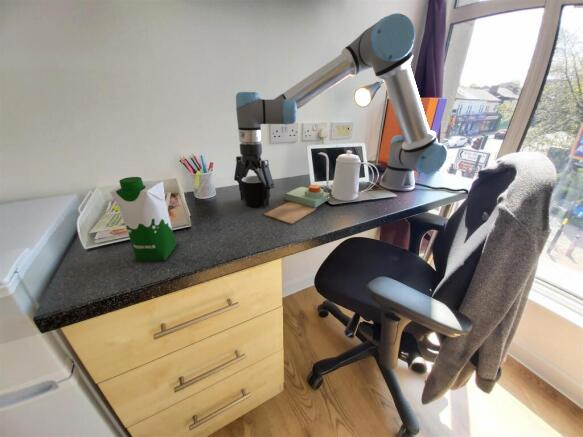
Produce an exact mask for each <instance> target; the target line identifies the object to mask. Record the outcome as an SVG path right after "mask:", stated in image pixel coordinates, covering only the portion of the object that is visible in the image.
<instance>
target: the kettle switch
mask: <svg viewBox="0 0 583 437" xmlns="http://www.w3.org/2000/svg"><path fill="white" fill-rule="evenodd" d="M308 188H309V192H312V193H317V192H320V189H321V185H319V184H309V185H308Z"/></svg>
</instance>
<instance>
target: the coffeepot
mask: <svg viewBox="0 0 583 437" xmlns="http://www.w3.org/2000/svg"><path fill="white" fill-rule="evenodd" d="M317 155H321V156H324V157H325V164H326V166H325V167H326V168H325V169H326V172H325V173H326V177H325V178H326V187H328V188H329V189H330V190H331V193H330V195H331V196H332V195H333V196H332V197H333V198H334V199H335V200H338V201H343V202H344V201H345V202H349V201H355V200H356V199H357V198H358V197H359V196H360V195H359V194H363V193H365V192H368V191H370V190H371V189H372V188H373V187H374V186H375V185H376V184H377V182H378V180H379V176H380V172H379V169H378V168H377V166H376V165H374V164H373V163H371V162H368V161H367V162H366V161H363V162H361V158H360V156H359V155H358V154H353V150H349V149H348V150H346V153H342V154H339V155H338V156H337V158H336V159H335V160H336V161H335V168H334V175H333V181H332V186H331V184H330V183H329V182H330V181H329V176H330V175H329V172H330V171H329V170H330V169H329V163H330V162H329V156H328V155H327V153H325V152H322V151H321V152H318V153H317ZM361 165H366V166H367V167H369V168H370V171H371V172H372V179H371V183H370V185H368V187H366V188H365V189H364V190H361V191H359V188H360V187H359V186H360V172H361V170H360V169H361ZM373 168H374V169H375V170H376V173H377V176H376V180H375V182H374V178H375V173H374V169H373ZM373 182H374V184H373ZM372 184H373V185H372ZM371 185H372V186H371Z"/></svg>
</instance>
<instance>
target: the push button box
mask: <svg viewBox="0 0 583 437" xmlns="http://www.w3.org/2000/svg"><path fill="white" fill-rule="evenodd" d="M284 195H285V197H284V198H285V200H286V201H288V202H289V201H291V202H294V203H298V204H302V205H305V206H309V207H312V208H316V209H317V208H318V207H319V206H321V205H323V204H325V203H326V202H327V201H329V200H330V195H331V193H330V192H326V191H325V190H324V189H322V188H320V192H317V193H312V192H309V187H305V186H299V187H297V188H295V189H292V190H290V191H288V192H285V194H284ZM328 197H329V198H328ZM326 198H327V199H326Z"/></svg>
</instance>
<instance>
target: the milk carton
mask: <svg viewBox="0 0 583 437" xmlns="http://www.w3.org/2000/svg"><path fill="white" fill-rule="evenodd" d="M118 183H119V185H120V186H118V187H116V188H114V189H112V190H110V195H111V196H112V198H113V200H114V201H115V203H116V204H117V206H118V208H119V211H120V215H121V217H122V220H123V223H124V226H125V228H126V232H127V235H128V238H129V240H130V244H131V248H132V251H133V254H134V258H135V261H136V262H144V261H146V262H150V261H152V262H153V261H155V262H156V261H166V260H167V259H168V257H169V256H170V255H171V253H172V252H173V251H174V249H175V248H176V247H177V245H178V243H177V241H176V237H175V234H174V231H173V227H172V222H171V217H170V214H169V209H168V205H167V201H166V197H165V196H166V194H165V186H164V180H143V179H142V177H140V176H129V177H124V178H121V179H119V182H118Z"/></svg>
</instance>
